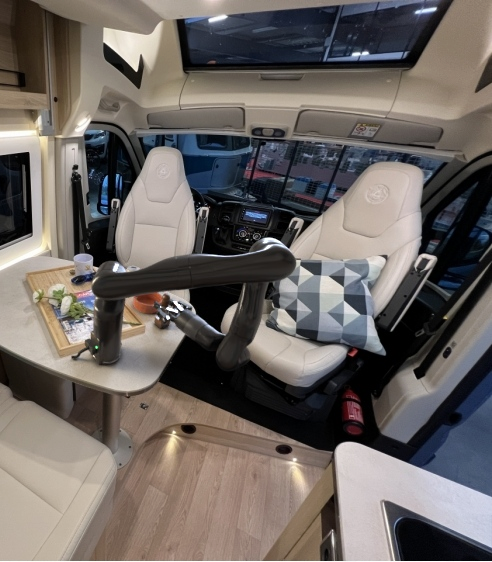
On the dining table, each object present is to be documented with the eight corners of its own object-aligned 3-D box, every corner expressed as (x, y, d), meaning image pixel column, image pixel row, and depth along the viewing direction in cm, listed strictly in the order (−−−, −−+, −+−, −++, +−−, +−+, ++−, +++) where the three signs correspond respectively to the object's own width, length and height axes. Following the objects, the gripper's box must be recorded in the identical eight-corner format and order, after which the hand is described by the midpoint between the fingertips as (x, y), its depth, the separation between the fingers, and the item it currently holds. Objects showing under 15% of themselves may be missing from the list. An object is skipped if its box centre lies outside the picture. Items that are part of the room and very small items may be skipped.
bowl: (144, 317, 116) (145, 308, 114) (127, 302, 125) (128, 293, 123) (167, 309, 122) (168, 300, 120) (149, 295, 131) (150, 287, 129)
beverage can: (138, 288, 136) (141, 265, 130) (138, 295, 130) (140, 272, 124) (125, 287, 136) (127, 264, 130) (124, 294, 131) (126, 270, 125)
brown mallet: (160, 329, 110) (165, 298, 103) (153, 324, 113) (158, 293, 106) (169, 325, 113) (175, 294, 106) (163, 320, 115) (168, 290, 108)
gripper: (209, 311, 100) (175, 288, 112) (179, 323, 93) (146, 297, 105) (205, 328, 103) (172, 304, 115) (175, 341, 96) (144, 314, 108)
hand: (160, 301), depth 110 cm, fingers open, 5 cm apart
